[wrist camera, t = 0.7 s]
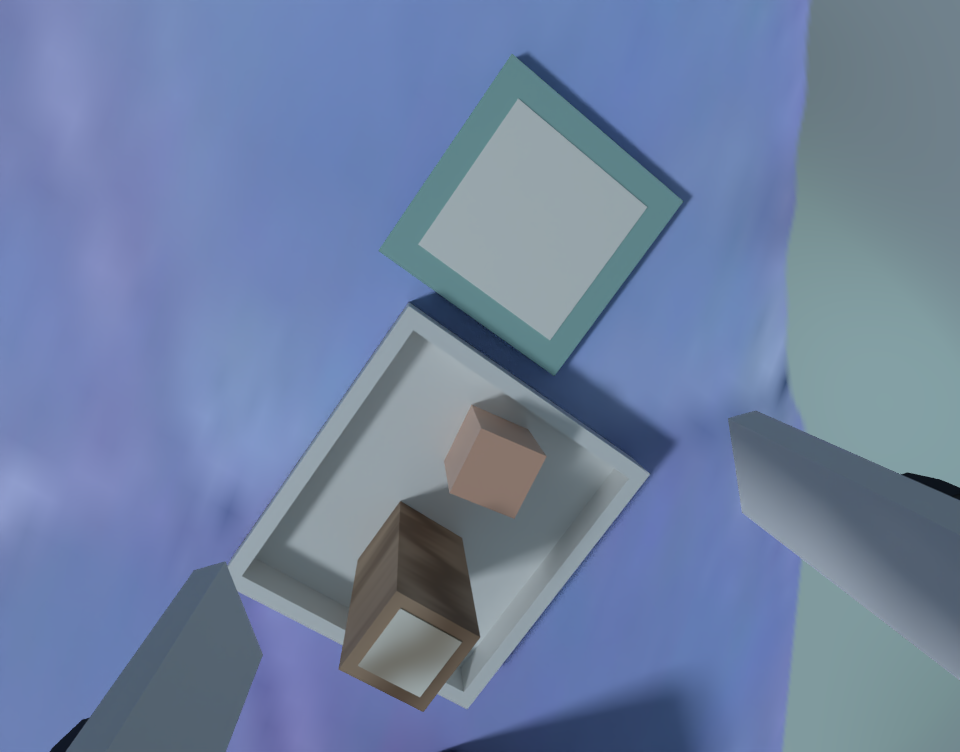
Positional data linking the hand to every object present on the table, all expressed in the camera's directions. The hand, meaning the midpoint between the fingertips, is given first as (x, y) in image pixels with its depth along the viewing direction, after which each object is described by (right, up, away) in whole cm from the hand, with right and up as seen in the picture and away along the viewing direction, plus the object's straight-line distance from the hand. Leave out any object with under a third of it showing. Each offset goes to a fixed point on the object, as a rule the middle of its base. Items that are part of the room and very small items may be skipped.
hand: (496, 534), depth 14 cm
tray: (-4, -6, +31) cm, 32 cm away
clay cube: (0, -1, +29) cm, 29 cm away
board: (+3, +15, +27) cm, 31 cm away
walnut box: (-6, -10, +30) cm, 32 cm away
